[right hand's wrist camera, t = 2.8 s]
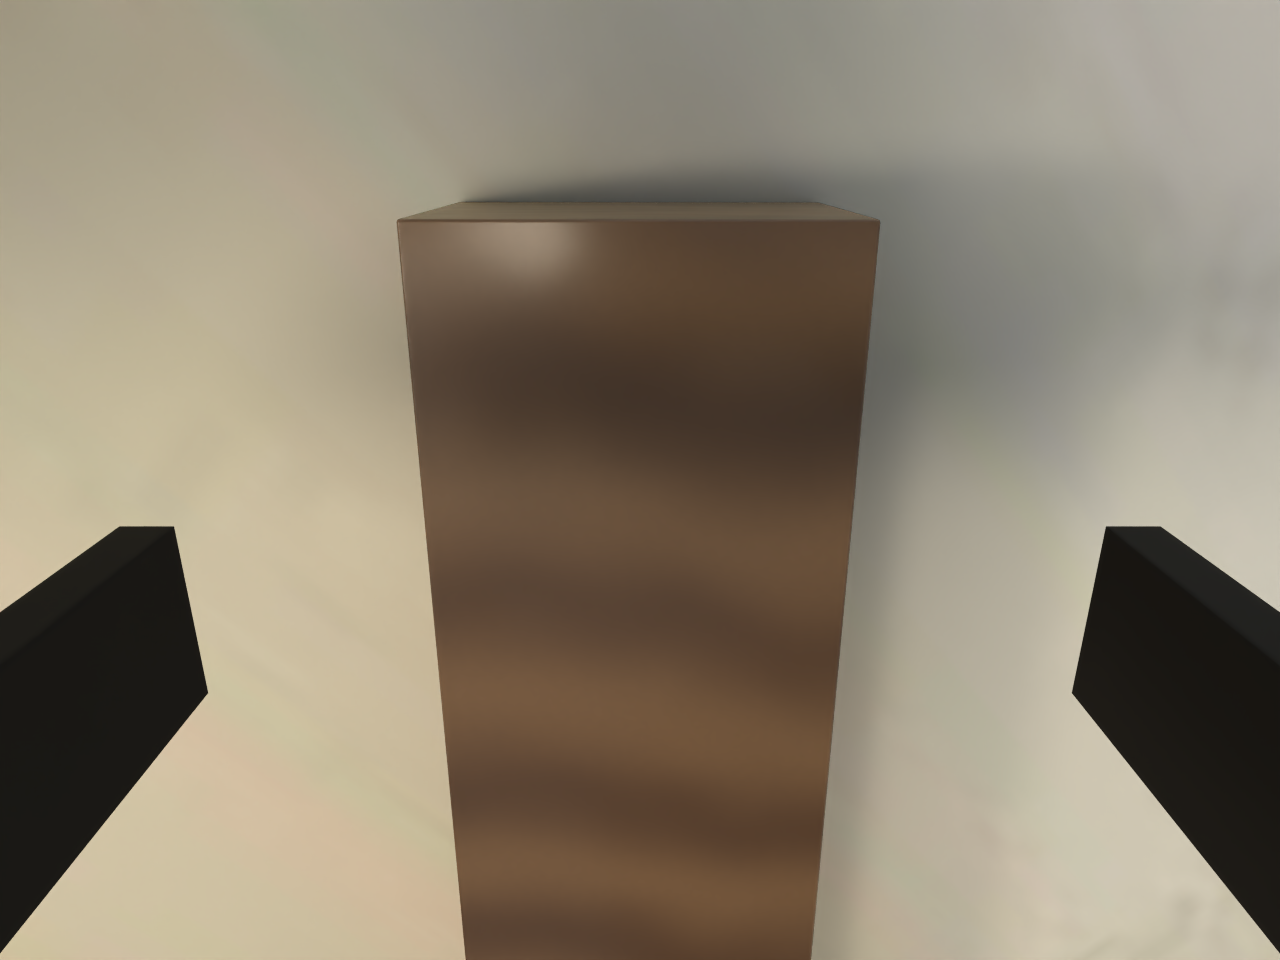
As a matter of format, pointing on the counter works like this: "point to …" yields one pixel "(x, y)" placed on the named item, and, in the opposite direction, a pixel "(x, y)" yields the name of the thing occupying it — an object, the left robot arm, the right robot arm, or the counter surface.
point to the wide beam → (638, 560)
